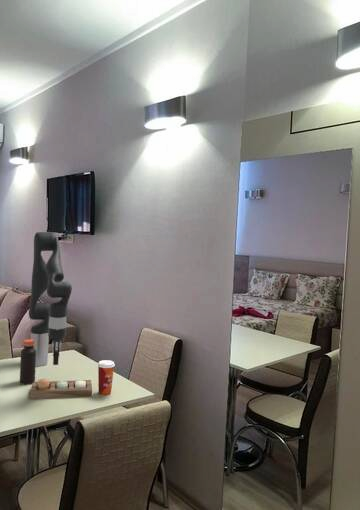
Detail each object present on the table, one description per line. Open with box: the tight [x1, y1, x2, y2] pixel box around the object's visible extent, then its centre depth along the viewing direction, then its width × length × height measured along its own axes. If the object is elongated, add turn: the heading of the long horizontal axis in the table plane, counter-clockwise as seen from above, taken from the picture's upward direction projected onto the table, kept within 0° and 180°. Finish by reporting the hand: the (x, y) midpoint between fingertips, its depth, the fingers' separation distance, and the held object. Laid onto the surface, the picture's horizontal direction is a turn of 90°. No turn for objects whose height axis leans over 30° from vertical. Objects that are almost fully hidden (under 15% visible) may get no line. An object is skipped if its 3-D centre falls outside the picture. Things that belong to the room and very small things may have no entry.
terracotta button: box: [37, 378, 50, 389], centre depth 181 cm, size 5×5×4 cm
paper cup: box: [97, 359, 116, 396], centre depth 186 cm, size 8×8×14 cm
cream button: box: [75, 379, 86, 388], centre depth 185 cm, size 5×5×4 cm
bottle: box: [19, 338, 37, 385], centre depth 192 cm, size 7×7×20 cm
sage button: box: [56, 380, 68, 389], centre depth 183 cm, size 5×5×4 cm
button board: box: [29, 379, 93, 400], centre depth 183 cm, size 12×26×3 cm, turn 105°
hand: (55, 364), depth 182 cm, fingers closed
